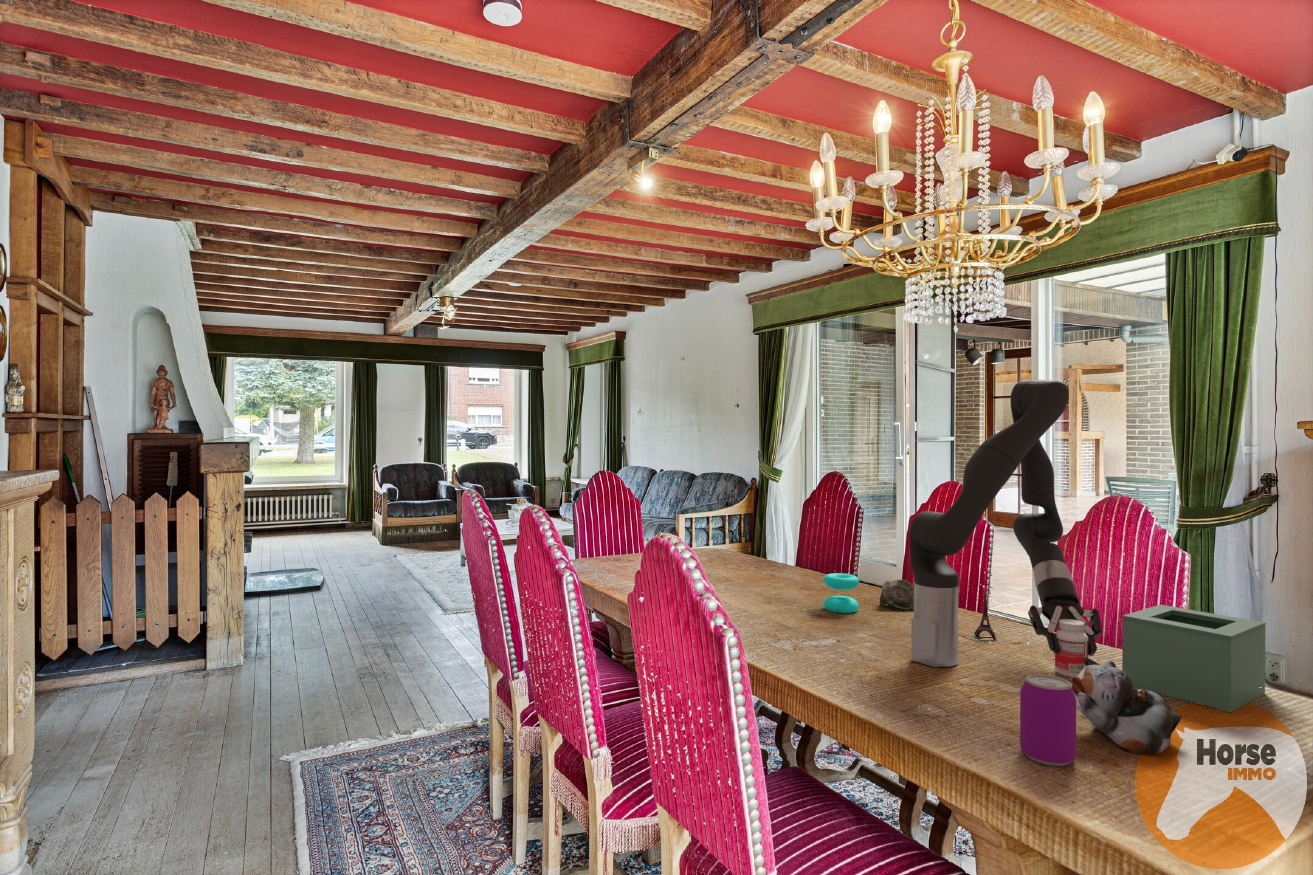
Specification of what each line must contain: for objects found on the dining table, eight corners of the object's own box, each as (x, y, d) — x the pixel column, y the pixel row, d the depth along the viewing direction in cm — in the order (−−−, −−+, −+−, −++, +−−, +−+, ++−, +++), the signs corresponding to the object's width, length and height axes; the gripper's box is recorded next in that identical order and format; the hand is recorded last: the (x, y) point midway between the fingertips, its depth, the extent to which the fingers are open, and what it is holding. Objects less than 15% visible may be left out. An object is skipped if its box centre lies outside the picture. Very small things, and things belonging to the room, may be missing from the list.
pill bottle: (1066, 667, 156) (1067, 616, 156) (1094, 675, 150) (1095, 623, 150) (1048, 671, 153) (1048, 619, 153) (1075, 680, 147) (1076, 626, 147)
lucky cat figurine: (1158, 764, 109) (1107, 678, 112) (1086, 765, 119) (1041, 686, 122) (1196, 716, 117) (1147, 637, 120) (1125, 720, 127) (1082, 647, 130)
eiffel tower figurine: (945, 633, 184) (945, 581, 184) (974, 629, 188) (975, 579, 188) (992, 649, 171) (992, 593, 171) (1023, 645, 174) (1023, 590, 174)
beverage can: (1087, 767, 108) (1088, 688, 108) (1038, 769, 107) (1039, 689, 107) (1055, 745, 115) (1055, 671, 115) (1009, 747, 115) (1010, 672, 115)
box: (1230, 712, 130) (1231, 636, 130) (1122, 684, 145) (1122, 615, 145) (1264, 693, 140) (1265, 622, 140) (1160, 668, 155) (1160, 604, 155)
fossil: (898, 611, 203) (886, 577, 207) (878, 620, 210) (866, 587, 214) (926, 606, 208) (913, 573, 212) (905, 615, 215) (893, 583, 219)
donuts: (846, 580, 199) (816, 575, 207) (846, 616, 199) (816, 609, 207) (865, 576, 206) (836, 571, 213) (865, 610, 206) (835, 604, 213)
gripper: (1024, 574, 160) (1042, 641, 149) (1094, 577, 157) (1118, 646, 146) (1016, 592, 165) (1033, 659, 154) (1084, 596, 163) (1106, 663, 151)
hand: (1074, 652), depth 150 cm, fingers closed on pill bottle, 6 cm apart
